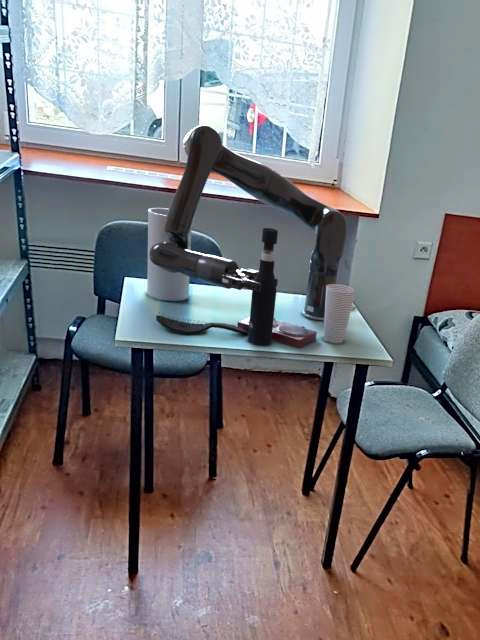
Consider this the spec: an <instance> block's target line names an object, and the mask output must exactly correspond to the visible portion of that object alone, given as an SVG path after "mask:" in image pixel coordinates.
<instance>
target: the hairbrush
mask: <svg viewBox="0 0 480 640" xmlns="http://www.w3.org/2000/svg"><path fill="white" fill-rule="evenodd" d="M175 318H176V317H175V316H173V318H170V316H165V314H164V312H163V314H162V315H161V313H160V311H159V312H158V313H157V314H156V315H155V319H156V320H155V321H156V322H157V323H158V324H160V325H161V327H164V328H166V329H167V330H169V331H171V332H173V333H178V334H182V335H198V334H201V333H203V332H206V331H208V330H210V329H212V328H215V329H216V328H217V329H222V330H223V329H224V330H228V331H231V332H235V333H237V334H241V335H245V336H246V335H247V336H248V331H246V330H244V329H242V328H240V327H238V325H234V324H231V323H223V322H205V321H204V320H203V323H201V321H200V320H196V321H195V320H192V319H191V320H190V319H188V320H187V321H186V320H183V319H182V320H181V318H179V317H178V316H177V318H176V319H175ZM192 321H193V322H192ZM194 322H195V323H194ZM197 322H198V323H197Z"/></svg>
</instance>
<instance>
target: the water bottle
mask: <svg viewBox="0 0 480 640" xmlns="http://www.w3.org/2000/svg"><path fill="white" fill-rule="evenodd" d="M278 233H279V231H278V229H275V228H270V227H264V228H262V233H261V242H262V243H263V251H262V253H261V256H260V259H259V269H258V270H257V271H258V274H257V276H256V278H255V282H258V283H261V284H262V288H261V291H260V292H257V291H253V290H251V299H250V300H251V302H250V314H249V317H250V322H249V333H248V334H247V342H248V343H249V344H252V345H255V346H259V347H267V346H269V345H271V344H272V340H271V338H272V329H273V319H275V310H276V309H275V308H276V300H277V287H276V282H275V278H276V276H275V273H274V271H275V270H274V269H275V260H274V259H275V253H274V248H275V247H274V246H275V245H277V244H278Z"/></svg>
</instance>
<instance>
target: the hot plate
mask: <svg viewBox="0 0 480 640" xmlns="http://www.w3.org/2000/svg"><path fill="white" fill-rule="evenodd" d="M249 322H250V316H249V317H247V318H244V319H242V320H238V321H237V327H240V328H242V329H244V330H246V331H248V333H249ZM317 333H318V331H315V330H313V329H308V328H306V327H305V326H299V325H295V324H291V323H289V322H285V321H281V320H277V319H276V318H274V319H273V329H272V338H271V341H274V342H278V343H281V344H285V345H288V346H291V347H294V348H301V347H303V346H305V345H307V344H309V343H312V342H313V341H315V340H316V339H317Z"/></svg>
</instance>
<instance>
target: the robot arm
mask: <svg viewBox="0 0 480 640" xmlns="http://www.w3.org/2000/svg"><path fill="white" fill-rule="evenodd" d="M183 148H184V152H185V154H186V156H187V159H186V164H185V168H184V171H183V174H182V177H181V179H180V182H179V184H178V186H177V188H176V190H175V193H174V195H173V197H172V200H171V202H170V205H169V207H168V209H169V211H168V214H167V217H166V220H165V223H164V231H165V232H166V233H167V234H168V243H166V242H158V243H156V244H154V245H153V246H152V247H151V249H150V251H149V257H150V260H151V261H152V263H153V264H154V265H155V266H157V267H159V268H161V269H163V270H166V271H168V272H170V273H177V272H180V273H182V274H184V275H186V276H189V278H190V279H191V278H192V279H195V280H198V281H201V282H204V283H207V284H210V285H213V286H215V287H216V286H217V287H220V288H222V289H223V288H224V289H227V290H230V289H235V290H238V291H242V289H243V290H244V291H245V290H250V291H252V290H253V291H257V292H260V291H261V288H262V284H261V283H258V282H255V278H256V276H257V274H258V271H259V270H256V269H254V268H253V269H252V268H247V269H245V268H241V269H240V268H239V265H238V263H237V262H236V261H235V260H232V259H228V258H225V257H220V256H217V255H213V254H206V253H203V252H202V253H201V252H198V251H193V250H191V251H189V250H188V237H189V233H190V230H191V231H192V228H191V227H192V226H193V224H194V220H195V218H196V214H197V211H198V207H199V204H200V202H201V198H202V194H203V191H204V189H205V186H206V184H207V182H208V179H209V176H210V174H211V172H213V173H216V174H217V175H219V176H221V177H223V178H225V179H226V180H228V181H230V182H231V183H233V184H234V185H235V186H236V187H238V188H239V189H241V190H243V191H244V192H245V193H247V194H249V195H250V196H252V197H253V198H254V199H256V200H258V201H259V202H261V203H263V204H265V205H266V206H268V207H270V208H272V209H273V210H276V211H277V212H280V213H283V214H286V215H288V216H291V217H293V218H295V219H296V220H298V221H300V222H301V223H303V224H304V225H305V226H307V227H308V228H309V229H311V230H312V231H313V232H314V233H315V234H316V239H315V245H314V248H313V250H312V251H311V253H310V261H309V267H308V276H307V282H306V291H305V297H304V308H303V316H304V317H305V318H307V319H309V320H314V321H320V322H324V318H325V301H326V285H328V284H338V280H339V279H338V277H339V271H340V266H341V265H340V264H341V260H342V258H343V256H344V251H345V248H346V247H345V246H346V242H347V236H348V220H347V218H346V217H345V215H344V214H343V213H342V212H340V211H339V210H338V209H336V208H334V207H332V206H329V205H326V204H324V203H322V202H320V201H318V200H316V199H314V198H312V197H310V196H309V195H307V194H306V193H305V192H304V191H302V190H301V189H300V188H299V187H298V186H296V185H295V184H294V183H293V182H292V181H291V180H289V179H287V178H286V177H285V176H283V175H282V174H281V173H279V172H277V171H276V170H274V169H273V168H271V167H269V166H268V165H265V164H264V163H261V162H258V161H256V160H253V159H250V158H247V157H245V156H242V155H240V154H238V153H236V152H234V151H232V149H230V148H228V147H227V146H225V145H224V144H223V140H222V136H221V135H220V133H219V131H217V129H215V128H214V127H213V126H211V125H207V124H202V125H201V124H200V125H197V126H196V127H194V128H193V129H191V130H190V131H189V132H188V133H187V134H186V135H185V137H184V139H183ZM275 282H276V288H277V287H278V283H279V280H278V278H276V277H275Z"/></svg>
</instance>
